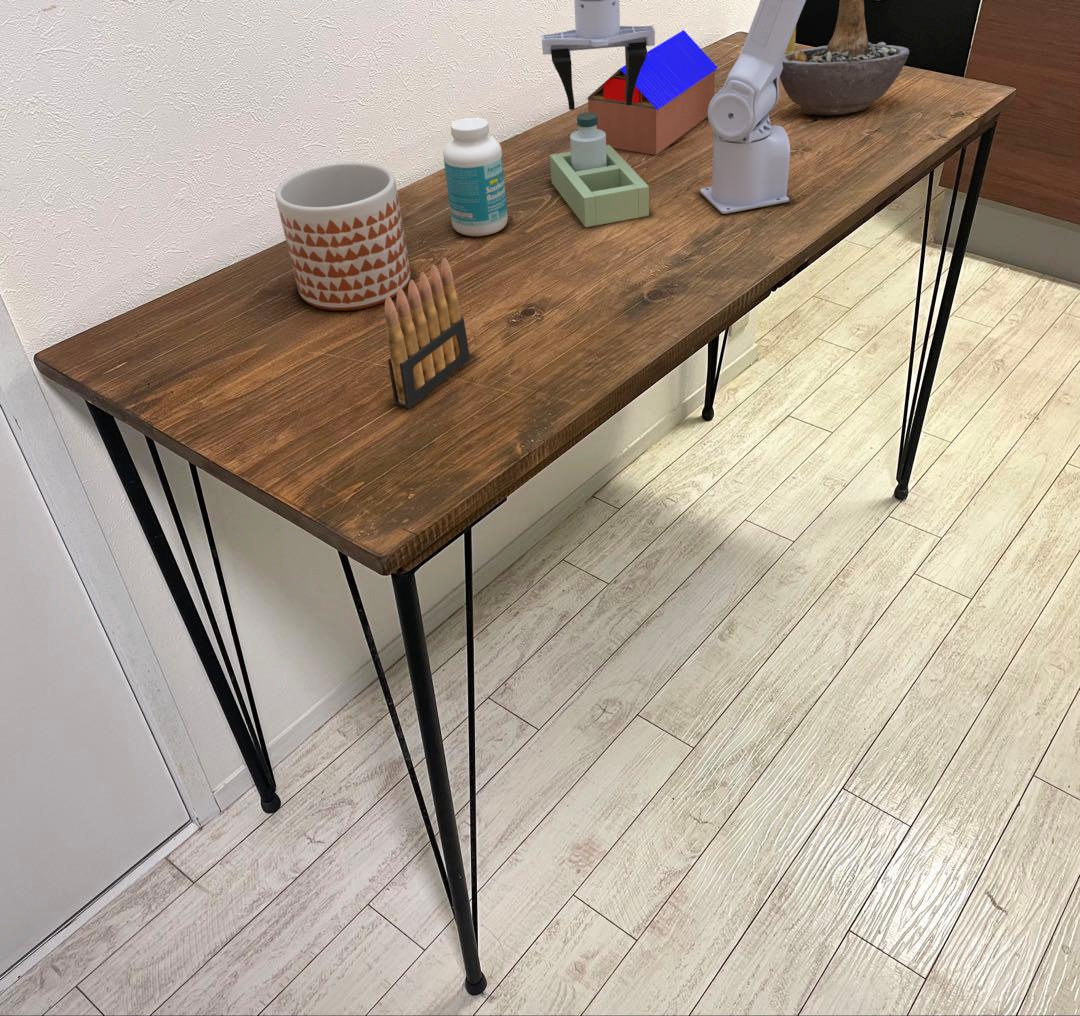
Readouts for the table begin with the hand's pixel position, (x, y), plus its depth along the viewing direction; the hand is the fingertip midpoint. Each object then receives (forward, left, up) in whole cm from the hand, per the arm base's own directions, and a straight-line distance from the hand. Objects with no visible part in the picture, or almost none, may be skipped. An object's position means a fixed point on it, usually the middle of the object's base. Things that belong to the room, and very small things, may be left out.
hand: (600, 105), depth 137 cm
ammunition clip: (+33, +43, -11) cm, 55 cm away
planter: (-41, -10, -11) cm, 44 cm away
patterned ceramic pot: (+38, +18, -11) cm, 43 cm away
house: (-13, -16, -11) cm, 24 cm away
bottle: (+3, +2, -10) cm, 11 cm away
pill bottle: (+20, +8, -11) cm, 24 cm away
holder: (+3, +6, -10) cm, 12 cm away
